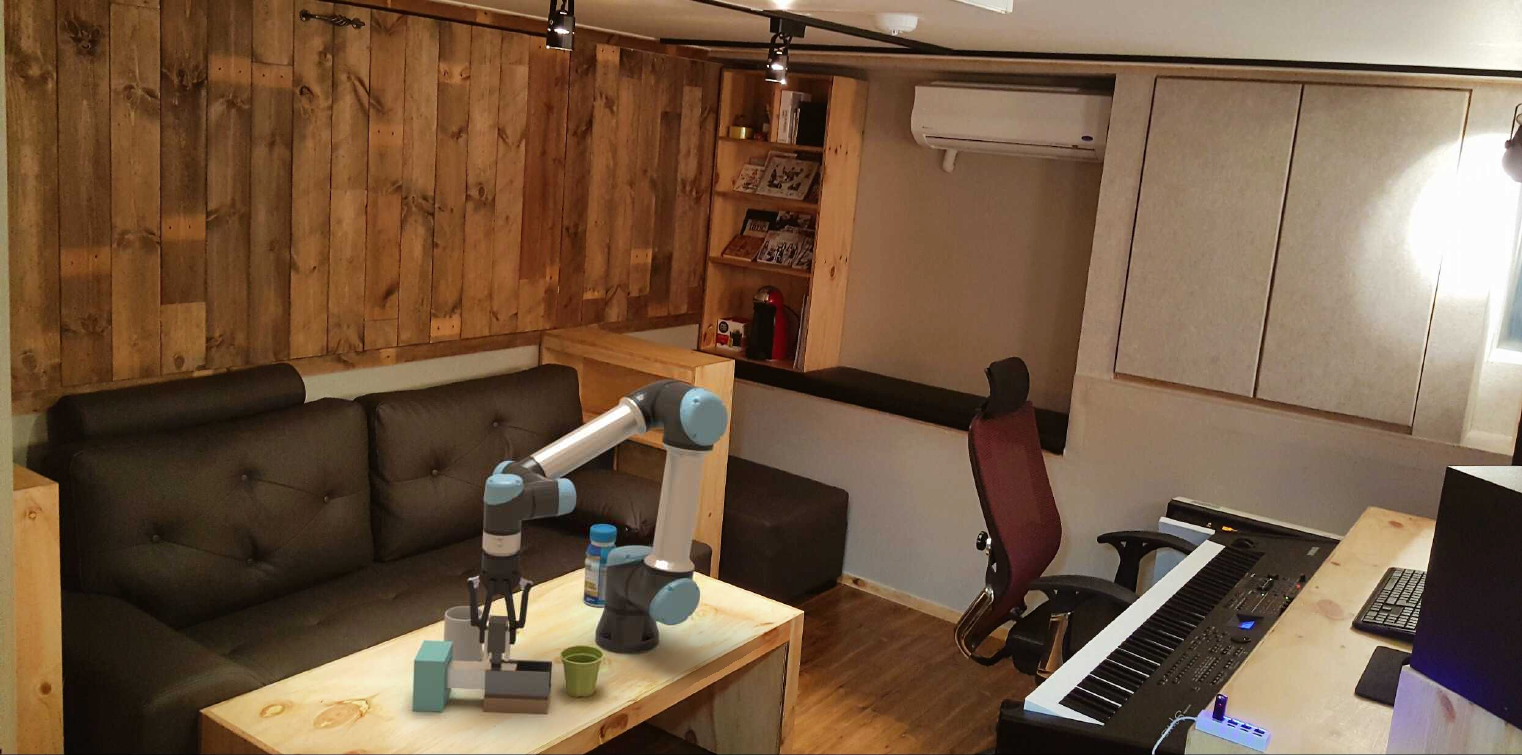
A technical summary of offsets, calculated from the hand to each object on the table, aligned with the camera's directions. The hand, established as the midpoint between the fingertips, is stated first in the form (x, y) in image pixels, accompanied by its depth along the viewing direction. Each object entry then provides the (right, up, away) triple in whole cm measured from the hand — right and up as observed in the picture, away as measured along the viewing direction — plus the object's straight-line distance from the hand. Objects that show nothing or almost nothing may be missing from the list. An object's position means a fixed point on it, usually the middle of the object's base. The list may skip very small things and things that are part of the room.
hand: (496, 657), depth 249 cm
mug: (-11, -5, +23) cm, 26 cm away
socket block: (-14, -9, +1) cm, 16 cm away
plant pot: (+16, -10, +10) cm, 21 cm away
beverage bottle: (+13, 0, +61) cm, 63 cm away
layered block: (+4, -10, +2) cm, 11 cm away
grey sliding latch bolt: (-5, -6, +1) cm, 7 cm away
